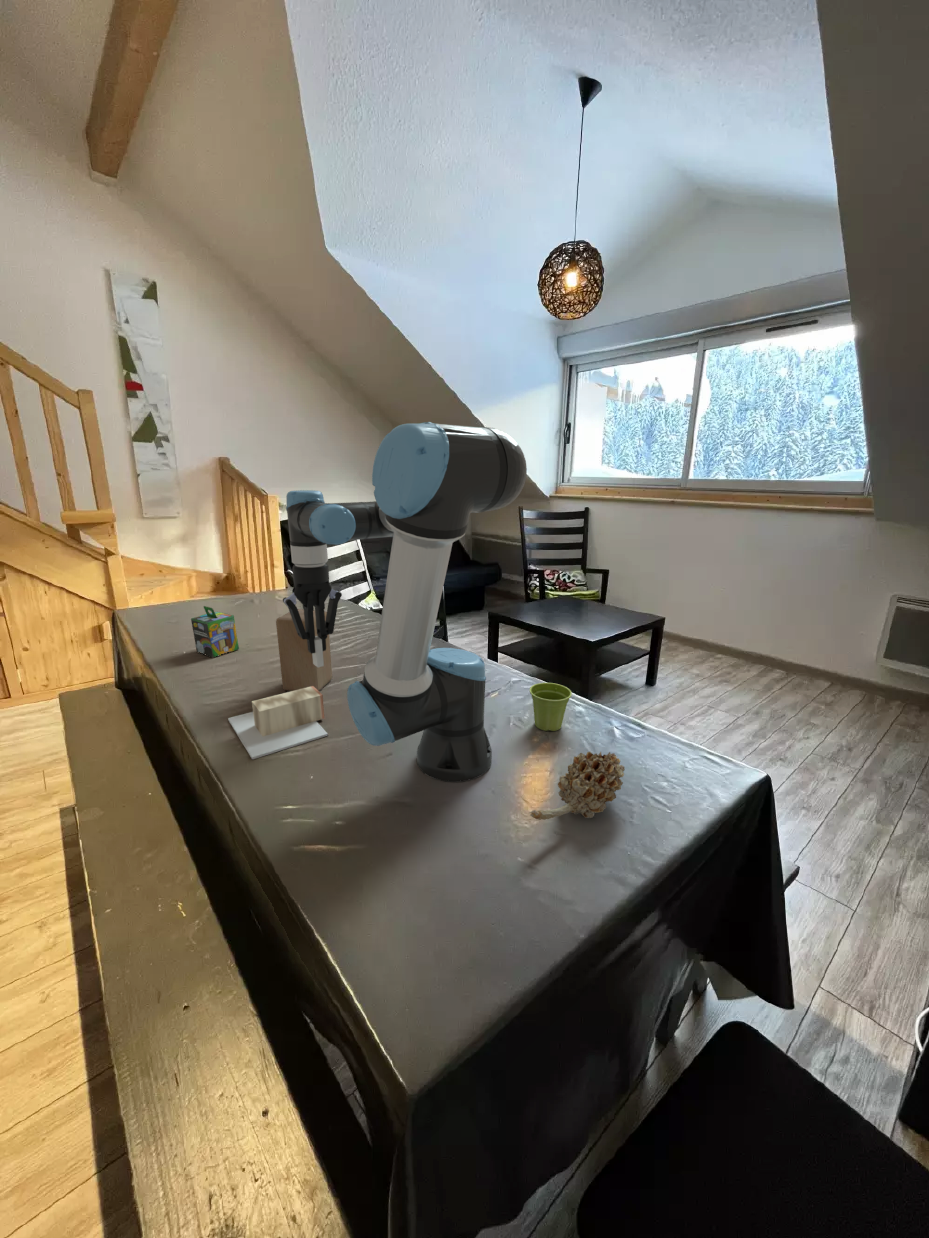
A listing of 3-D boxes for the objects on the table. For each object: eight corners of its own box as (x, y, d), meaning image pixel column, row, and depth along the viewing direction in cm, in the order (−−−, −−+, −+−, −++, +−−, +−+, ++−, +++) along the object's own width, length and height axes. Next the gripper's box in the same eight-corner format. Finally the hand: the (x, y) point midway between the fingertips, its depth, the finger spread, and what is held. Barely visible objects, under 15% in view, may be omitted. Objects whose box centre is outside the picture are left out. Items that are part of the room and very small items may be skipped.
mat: (328, 735, 111) (327, 733, 111) (252, 759, 102) (252, 757, 102) (296, 701, 127) (296, 700, 126) (228, 720, 117) (228, 718, 117)
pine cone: (586, 777, 98) (590, 731, 95) (632, 800, 91) (638, 752, 88) (512, 833, 83) (515, 781, 80) (561, 865, 76) (566, 809, 73)
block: (316, 695, 130) (310, 621, 125) (281, 691, 132) (273, 618, 126) (333, 679, 140) (329, 610, 134) (300, 676, 142) (294, 607, 136)
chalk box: (239, 650, 161) (234, 605, 156) (212, 658, 153) (205, 612, 149) (222, 644, 165) (216, 600, 161) (195, 652, 158) (188, 607, 154)
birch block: (322, 694, 116) (259, 711, 108) (324, 718, 118) (262, 736, 110) (313, 685, 120) (251, 701, 112) (314, 708, 122) (254, 725, 114)
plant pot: (544, 711, 123) (546, 678, 121) (576, 725, 117) (579, 691, 114) (519, 724, 117) (521, 690, 114) (552, 740, 111) (555, 704, 108)
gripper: (331, 558, 116) (338, 654, 123) (274, 564, 109) (284, 666, 116) (345, 563, 111) (351, 663, 118) (286, 570, 103) (296, 676, 110)
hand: (318, 664), depth 117 cm, fingers closed
